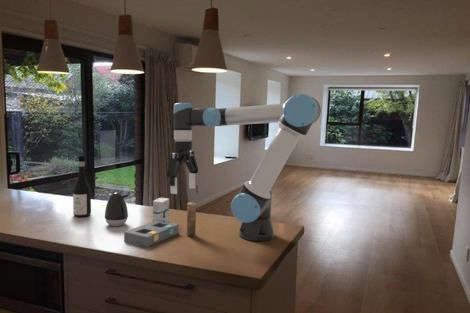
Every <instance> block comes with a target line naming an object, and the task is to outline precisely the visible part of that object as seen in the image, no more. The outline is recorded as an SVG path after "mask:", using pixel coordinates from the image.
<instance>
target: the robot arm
mask: <svg viewBox="0 0 470 313" xmlns="http://www.w3.org/2000/svg"><path fill="white" fill-rule="evenodd" d="M192 105H193V104H192V103H190V102H176V103H174V104H173V114H172V116H173V140H174V141H173V150H174V151H176V152H172V153H170V161H169V163H168V169H167V171H166V174H165V175H166V177H167V178H168V179H169V184H170V185H169V187H170V194H172V195H173V194H174V195H177V194H178V177H177V175H178V173H179V170H180V167H181V166H182V165H183V164H185V165H186V167H187V169H188V172H189V173H188V188H189V189H193V190H194V189H196V174H198V172H199V167H198V164H197V163H198V162H197V160H196V157H195V151H194V150H192V149H193V142H192V140H193V127H208V128H212V127H225V126H236V125H237V126H239V125H240V126H241V125H253V124H254V125H255V124H257V125H259V124H273V123H278V128H277V131H276V132H275V134H274V136H273V138H272V140H271V141H270V143H269V146H268V147H267V149H266V151H265V153H264V154H263V156H262V158H261V160H260V162H259V164H258V165H257V167H256V168H255V171H254V172H253V175H252V176H251V178H250V180H248V181H246V180H245V182H243V185H242V186H241V189H240V190H239V192H238V194H236V195H235V196H234V197H233V198H232V200H231V203H230V210H231V213H232V215H233V216H234V218H235V219H236V220H237V221H239V222H241V224H240V227H239V232H238V236H239V237H240V238H242V239H243V240H247V241H251V242H252V241H253V242H266V241H271V240H273V239H274V237H275V230H274V226H273V224H272V219H271V217H272V215H271V214H272V200H273V199H272V197H273V188H272V187H273V185H274V184H275V182H276V181H277V178H278V177H279V175H280V173H281V171H282V170H283V169H284V166H285V165H286V163H287V161H288V159H289V157H290V156H291V154H292V152H293V151H294V149H295V148H296V145H297V144H298V141H299V140H300V139H301V138H304V137H306V136H307V134H308V133H309V130H310V129H311V128H312V126H313V125H314V124H315V123H316V122H317V121H318V120H319V118H320V117H321V112H322V111H321V110H322V109H321V104H320V103H319V101H318V100H317V99H316V98H315V97H313V96H311V94H310V95H309V94H307V93H298V94H294V95H292V96H290V97H289V98H288V99H287V100H286V101H285V102H284V103H272V104H260V105H251V106H249V105H248V106H236V107H224V108H223V107H222V108H221V107H220V108H217V107H193V106H192Z"/></svg>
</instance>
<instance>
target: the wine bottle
mask: <svg viewBox="0 0 470 313" xmlns="http://www.w3.org/2000/svg"><path fill="white" fill-rule="evenodd" d="M77 158H78V159H77V160H78V176H77V179H76V182H75V184H74V187H73V192H72V204H73V205H72V208H73V211H72V212H73V216H74V217H75V218H86V217H89V216H90V215H91V214H92V191H91V187H90V184H89V183H88V180H87V178H86V170H85V167H86V166H85V159H86V156H85V155H81V154H80V155H78V156H77Z"/></svg>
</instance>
